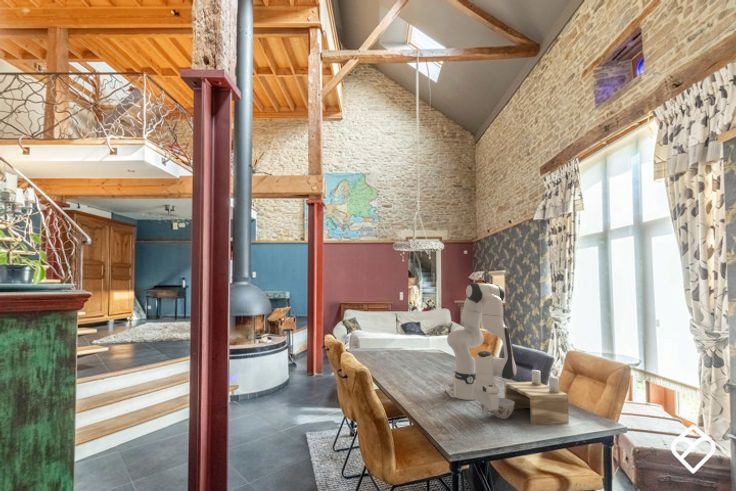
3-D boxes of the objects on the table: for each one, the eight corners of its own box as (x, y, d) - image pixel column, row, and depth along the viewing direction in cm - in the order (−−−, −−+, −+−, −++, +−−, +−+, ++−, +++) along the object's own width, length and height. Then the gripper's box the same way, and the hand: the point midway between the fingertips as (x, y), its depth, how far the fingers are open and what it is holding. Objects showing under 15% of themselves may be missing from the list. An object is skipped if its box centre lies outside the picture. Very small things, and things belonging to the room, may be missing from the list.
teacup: (507, 412, 199) (507, 396, 200) (519, 421, 187) (519, 404, 188) (479, 412, 197) (479, 397, 198) (490, 421, 185) (490, 404, 186)
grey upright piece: (547, 390, 194) (547, 376, 194) (554, 390, 194) (554, 376, 195) (553, 393, 189) (552, 378, 190) (560, 392, 190) (560, 378, 191)
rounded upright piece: (530, 383, 207) (529, 369, 208) (537, 382, 208) (537, 369, 209) (535, 385, 203) (535, 371, 204) (542, 385, 204) (542, 371, 204)
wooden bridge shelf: (504, 408, 206) (504, 382, 207) (537, 406, 210) (536, 381, 211) (532, 424, 182) (532, 395, 184) (568, 422, 187) (568, 394, 188)
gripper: (469, 379, 201) (469, 406, 200) (489, 390, 181) (489, 420, 180) (480, 379, 203) (480, 406, 201) (501, 390, 183) (501, 420, 181)
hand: (484, 413), depth 191 cm, fingers closed
